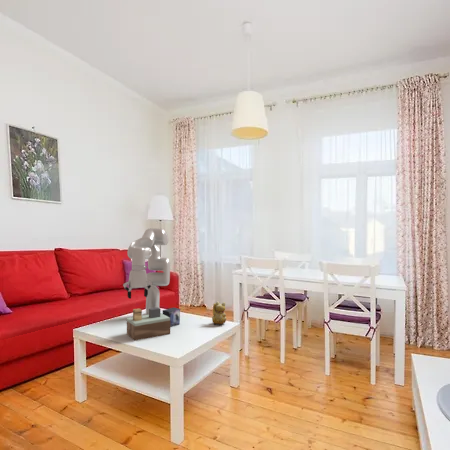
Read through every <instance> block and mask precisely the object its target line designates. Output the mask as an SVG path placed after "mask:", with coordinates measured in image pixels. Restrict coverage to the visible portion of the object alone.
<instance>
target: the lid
mask: <svg viewBox="0 0 450 450" xmlns="http://www.w3.org/2000/svg"><path fill="white" fill-rule="evenodd" d="M169 320H170V317H168V316H166V315H164V314H163V312H162V313H161V308H160V307H159V308H151V309H149V315H144V314H142V320H139V321H134V320H133V316H132V317H126V322H127V321H128V322H129V323H131V324H132V325H134V326H140V325H146V324H151V323H157V322H163V321H169Z"/></svg>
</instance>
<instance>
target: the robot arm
mask: <svg viewBox="0 0 450 450" xmlns="http://www.w3.org/2000/svg"><path fill="white" fill-rule="evenodd" d="M168 243H169V235H168V234H167V232H166V230H165V229H164V228H153V227H152V228H147V229H145V231H144V233H143V234H142V236H141V237H140V238H137V239H136V240H134V241H132V242H131V243H130V244H129V247H128V249H127V257H128V258H129V259H131V270H129V276H128V281H126V282H125V283H123V284H122V286H123V287H124V290H126V291H127V298H128V299H132V289H139V288H144V290H143V296H144V297H145V313H144V314H143V315H149V309H151V308H160V295H161V294H160V293H161V292H160V289H159V288H158V287H167V286H168V285H169V284H170V281H171V280H170V279H171V261H170V258H168V257H161V249H160V248H159V246H166V245H167V244H168ZM146 260H147V265H146ZM146 269H148V270H149V271H154V272H148V273H147V270H146ZM155 271H156V272H155ZM157 271H158V272H157Z"/></svg>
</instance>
